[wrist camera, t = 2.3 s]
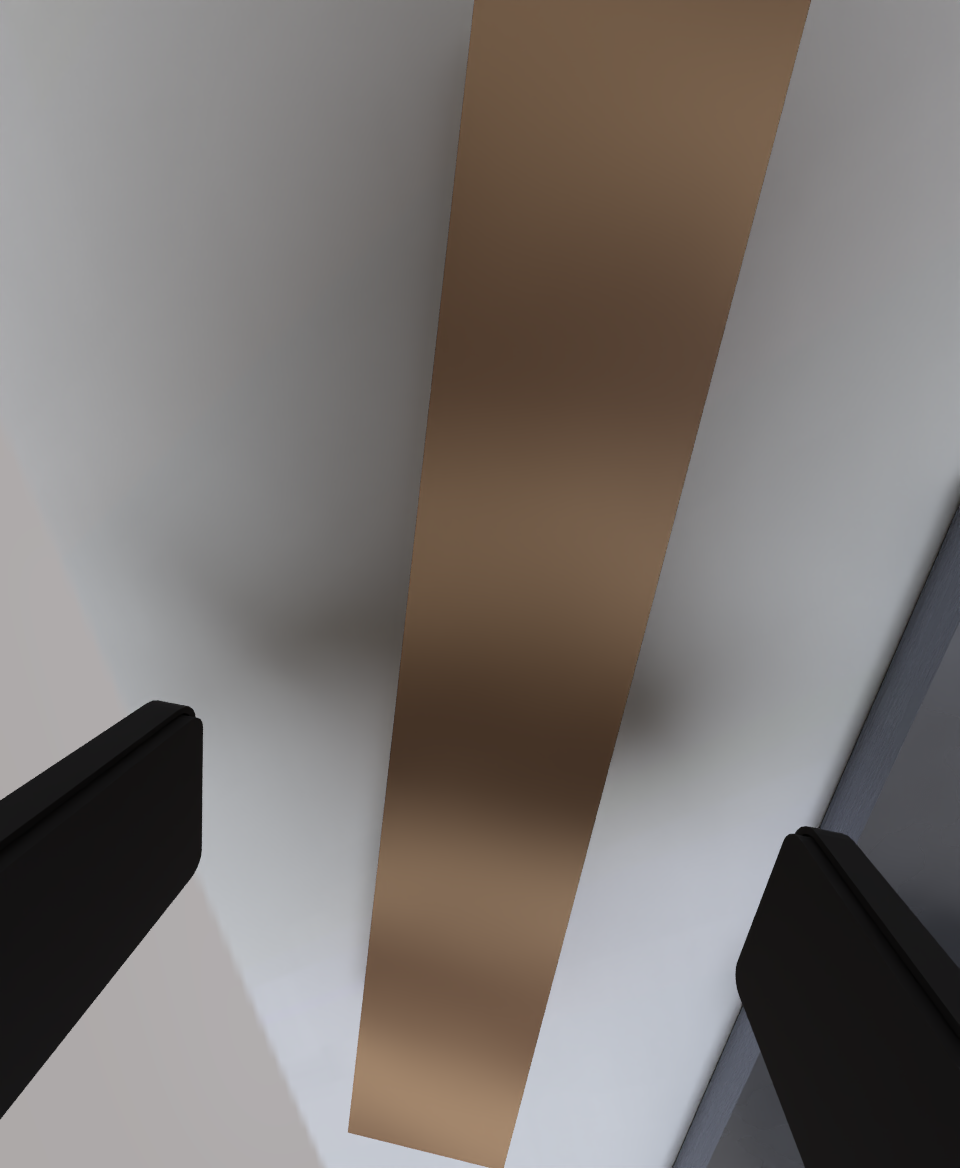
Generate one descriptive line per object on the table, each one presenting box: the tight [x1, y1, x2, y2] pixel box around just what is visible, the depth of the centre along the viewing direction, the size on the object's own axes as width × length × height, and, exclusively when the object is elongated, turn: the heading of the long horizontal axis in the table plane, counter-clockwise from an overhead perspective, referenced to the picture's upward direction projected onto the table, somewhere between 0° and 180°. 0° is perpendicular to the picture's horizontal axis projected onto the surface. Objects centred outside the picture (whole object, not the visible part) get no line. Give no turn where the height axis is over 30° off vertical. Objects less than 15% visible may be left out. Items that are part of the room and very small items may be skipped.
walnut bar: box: [348, 0, 811, 1168], centre depth 11 cm, size 24×4×4 cm, turn 172°
